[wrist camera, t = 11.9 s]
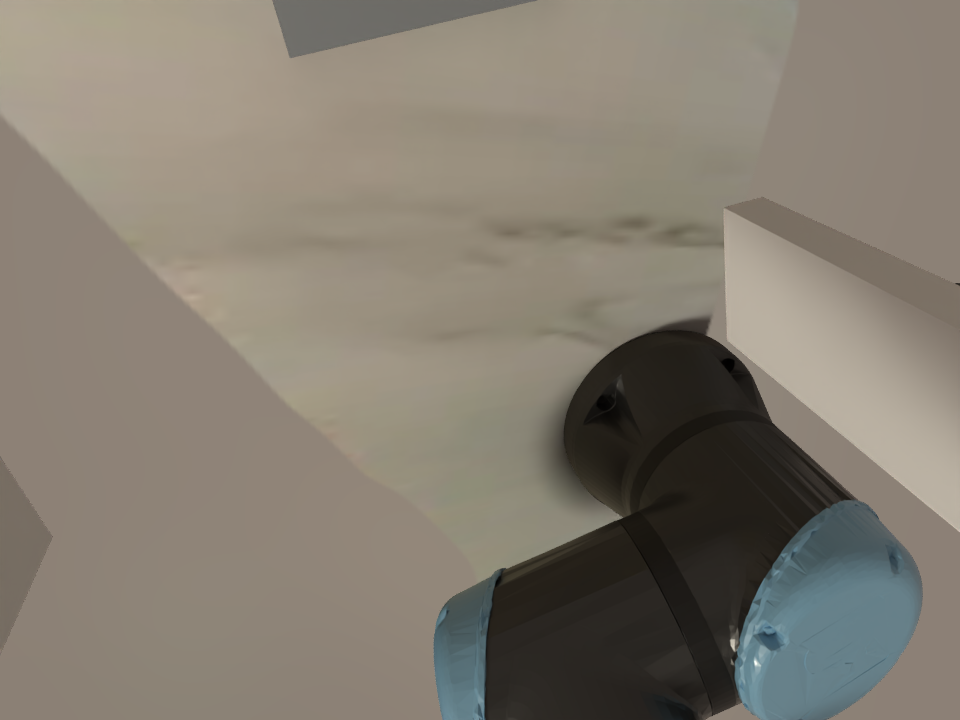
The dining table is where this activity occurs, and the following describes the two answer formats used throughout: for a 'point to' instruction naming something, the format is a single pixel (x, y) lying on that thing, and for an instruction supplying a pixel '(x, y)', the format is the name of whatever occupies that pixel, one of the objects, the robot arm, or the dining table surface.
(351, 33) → the board
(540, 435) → the dining table surface
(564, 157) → the dining table surface
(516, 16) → the dining table surface
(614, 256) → the dining table surface
